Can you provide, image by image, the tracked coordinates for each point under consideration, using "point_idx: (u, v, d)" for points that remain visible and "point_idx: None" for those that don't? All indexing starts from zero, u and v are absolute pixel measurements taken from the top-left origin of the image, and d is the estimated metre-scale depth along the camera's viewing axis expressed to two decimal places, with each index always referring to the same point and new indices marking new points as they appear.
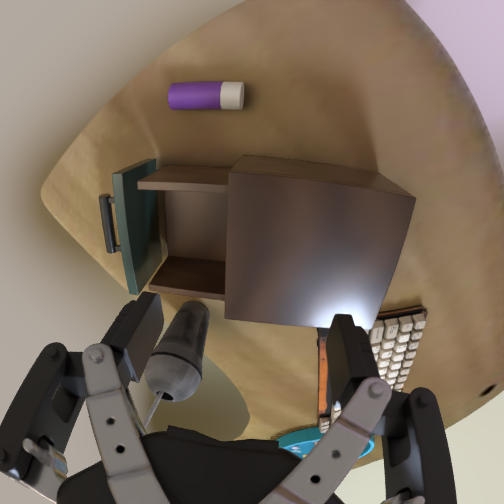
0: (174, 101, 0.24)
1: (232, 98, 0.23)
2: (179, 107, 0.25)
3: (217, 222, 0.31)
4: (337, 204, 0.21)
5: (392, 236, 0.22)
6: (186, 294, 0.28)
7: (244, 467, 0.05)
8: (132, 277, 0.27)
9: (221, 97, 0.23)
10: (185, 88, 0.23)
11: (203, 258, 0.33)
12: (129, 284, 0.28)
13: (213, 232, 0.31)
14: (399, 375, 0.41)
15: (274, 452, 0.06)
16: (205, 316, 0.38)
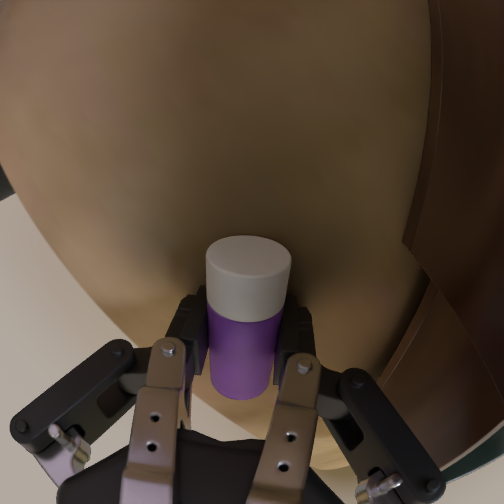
0: (235, 392, 0.12)
1: (232, 293, 0.09)
2: (255, 386, 0.12)
3: None
4: None
5: None
6: None
7: (244, 467, 0.05)
8: (499, 457, 0.07)
9: (229, 317, 0.09)
10: (211, 365, 0.12)
11: None
12: (501, 456, 0.08)
13: None
14: None
15: None
16: None
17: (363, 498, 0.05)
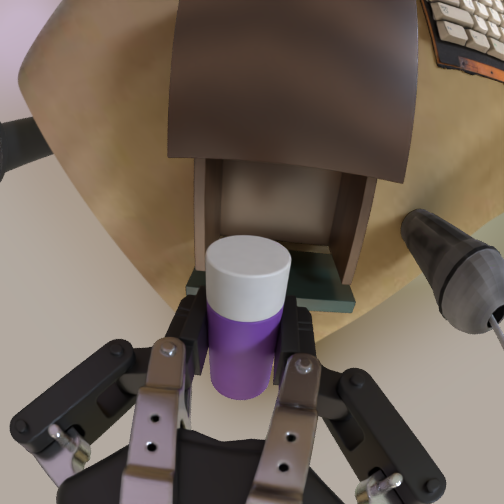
0: (235, 392, 0.12)
1: (232, 293, 0.09)
2: (255, 386, 0.12)
3: (284, 175, 0.23)
4: (202, 22, 0.11)
5: None
6: (362, 234, 0.18)
7: (244, 467, 0.05)
8: (327, 304, 0.21)
9: (229, 316, 0.09)
10: (211, 365, 0.12)
11: (335, 200, 0.24)
12: (338, 310, 0.21)
13: (298, 182, 0.23)
14: None
15: None
16: (421, 214, 0.23)
17: (363, 498, 0.05)
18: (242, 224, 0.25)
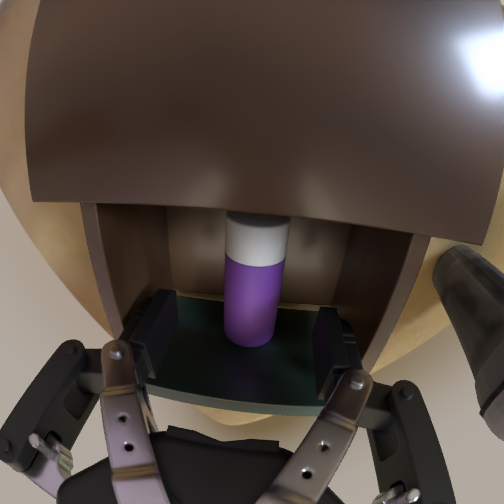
0: (247, 338, 0.15)
1: (249, 241, 0.12)
2: (264, 332, 0.15)
3: None
4: None
5: None
6: (391, 325, 0.09)
7: (244, 467, 0.05)
8: None
9: (246, 262, 0.13)
10: (226, 315, 0.15)
11: (345, 242, 0.15)
12: None
13: None
14: None
15: (274, 452, 0.06)
16: (465, 257, 0.15)
17: None
18: (202, 276, 0.17)
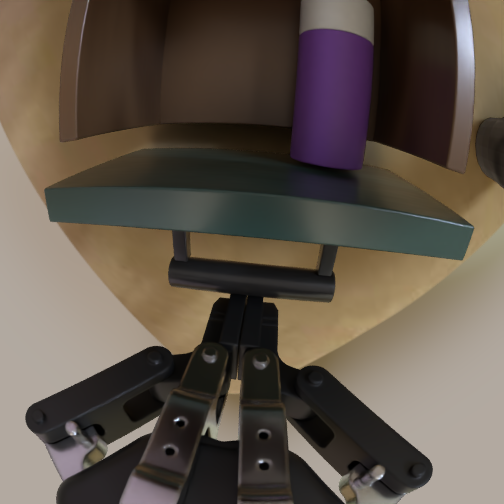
0: None
1: None
2: None
3: (278, 7, 0.09)
4: None
5: None
6: (469, 38, 0.04)
7: None
8: (415, 228, 0.06)
9: None
10: (362, 126, 0.09)
11: (378, 53, 0.09)
12: (436, 249, 0.07)
13: None
14: None
15: None
16: None
17: (349, 493, 0.05)
18: (200, 96, 0.11)
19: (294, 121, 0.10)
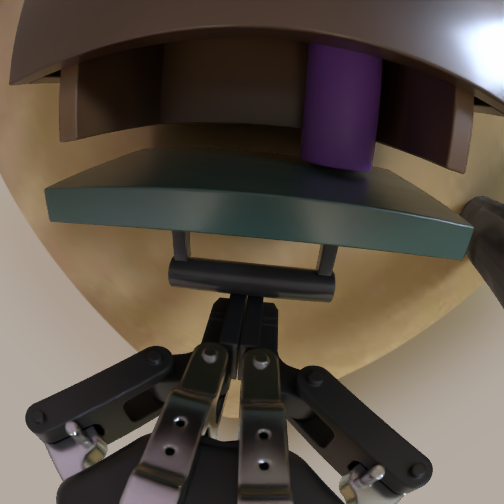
0: None
1: None
2: None
3: None
4: None
5: None
6: None
7: None
8: (414, 228, 0.06)
9: None
10: (376, 129, 0.09)
11: None
12: (436, 249, 0.07)
13: None
14: None
15: None
16: (490, 204, 0.12)
17: (349, 493, 0.05)
18: (200, 96, 0.11)
19: (309, 123, 0.09)
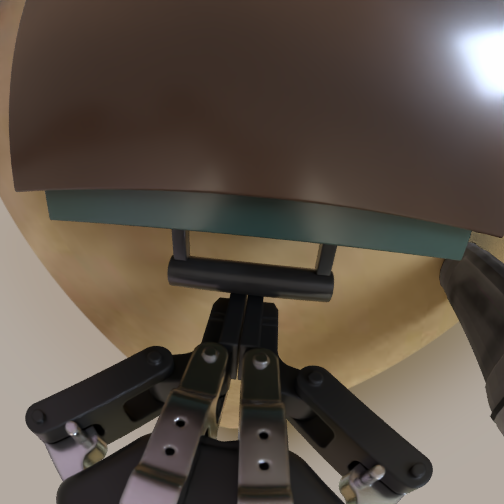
0: None
1: None
2: None
3: None
4: None
5: None
6: None
7: None
8: (413, 228, 0.06)
9: None
10: None
11: None
12: (435, 249, 0.07)
13: None
14: None
15: None
16: (473, 254, 0.14)
17: (349, 493, 0.05)
18: None
19: None
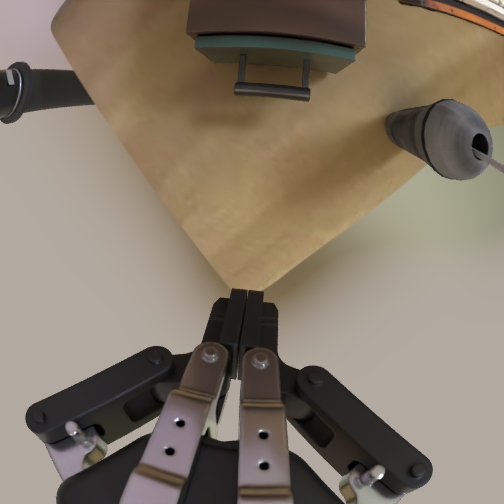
0: None
1: None
2: None
3: None
4: None
5: None
6: None
7: None
8: (328, 47, 0.17)
9: None
10: None
11: None
12: (340, 55, 0.17)
13: None
14: None
15: None
16: (401, 110, 0.24)
17: (349, 493, 0.05)
18: None
19: None
